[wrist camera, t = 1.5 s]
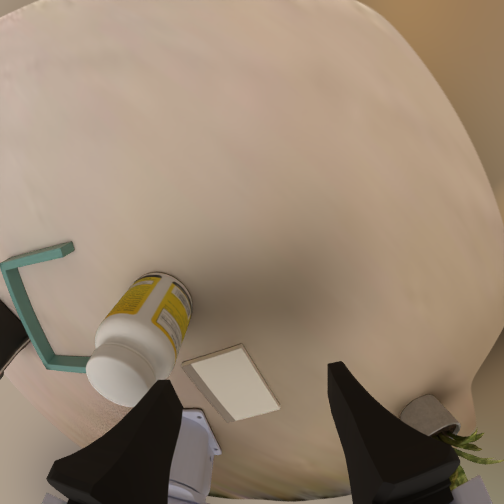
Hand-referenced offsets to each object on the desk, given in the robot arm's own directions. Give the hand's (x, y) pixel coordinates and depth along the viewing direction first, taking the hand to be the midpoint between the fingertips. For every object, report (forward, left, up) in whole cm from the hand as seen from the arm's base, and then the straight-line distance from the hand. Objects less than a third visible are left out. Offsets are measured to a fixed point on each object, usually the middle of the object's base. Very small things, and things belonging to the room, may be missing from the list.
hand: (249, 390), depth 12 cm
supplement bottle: (0, +7, -11) cm, 13 cm away
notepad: (-10, +3, -11) cm, 15 cm away
